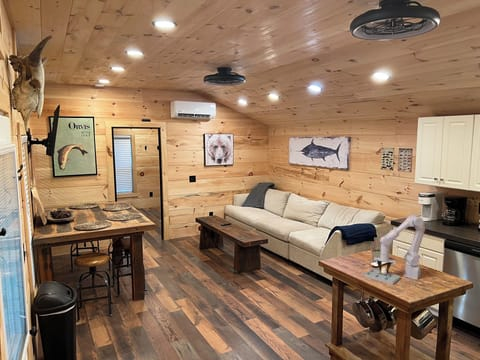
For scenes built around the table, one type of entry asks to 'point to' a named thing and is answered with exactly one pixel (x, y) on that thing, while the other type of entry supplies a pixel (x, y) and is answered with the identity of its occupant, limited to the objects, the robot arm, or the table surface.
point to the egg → (384, 271)
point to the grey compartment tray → (382, 276)
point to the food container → (376, 252)
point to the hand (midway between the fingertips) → (383, 271)
